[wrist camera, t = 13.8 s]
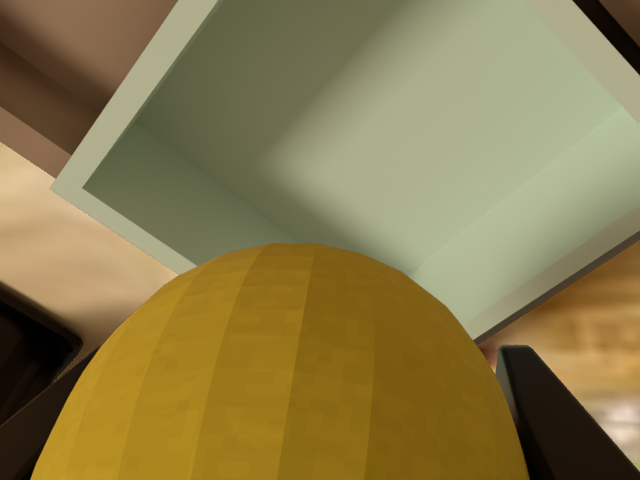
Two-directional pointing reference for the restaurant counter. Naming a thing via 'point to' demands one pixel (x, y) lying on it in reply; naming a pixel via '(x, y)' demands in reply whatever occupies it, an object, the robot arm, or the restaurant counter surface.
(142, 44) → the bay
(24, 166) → the restaurant counter surface
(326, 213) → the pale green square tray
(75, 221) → the restaurant counter surface
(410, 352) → the lemon
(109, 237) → the restaurant counter surface
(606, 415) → the restaurant counter surface
